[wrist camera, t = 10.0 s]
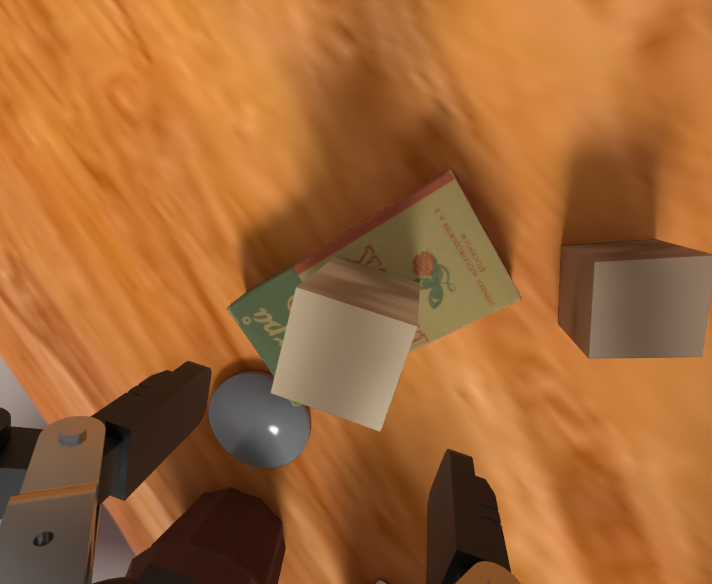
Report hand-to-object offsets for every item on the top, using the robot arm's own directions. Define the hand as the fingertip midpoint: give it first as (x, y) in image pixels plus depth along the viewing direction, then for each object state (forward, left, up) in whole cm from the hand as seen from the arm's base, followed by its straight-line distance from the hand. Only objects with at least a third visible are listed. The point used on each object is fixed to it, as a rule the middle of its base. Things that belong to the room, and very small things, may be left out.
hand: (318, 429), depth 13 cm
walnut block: (-13, -5, -15) cm, 20 cm away
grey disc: (+6, +12, -15) cm, 20 cm away
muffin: (+6, +24, -15) cm, 29 cm away
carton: (+1, -1, -15) cm, 15 cm away
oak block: (0, 0, -11) cm, 11 cm away
